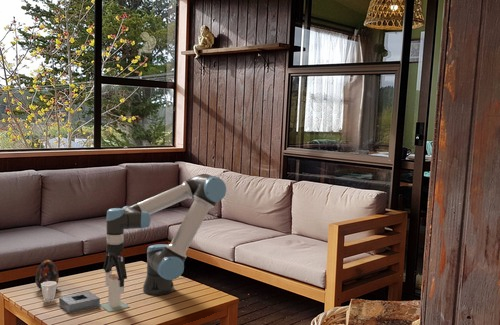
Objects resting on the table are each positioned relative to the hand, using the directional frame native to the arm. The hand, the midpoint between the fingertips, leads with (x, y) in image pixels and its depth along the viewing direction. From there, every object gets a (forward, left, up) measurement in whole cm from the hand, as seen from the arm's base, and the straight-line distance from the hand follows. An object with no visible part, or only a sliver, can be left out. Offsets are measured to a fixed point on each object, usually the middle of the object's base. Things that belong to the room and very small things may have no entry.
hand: (114, 289), depth 235 cm
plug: (0, 0, -7) cm, 7 cm away
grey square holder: (+13, -10, -8) cm, 18 cm away
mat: (0, 0, -8) cm, 8 cm away
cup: (+22, -24, -8) cm, 33 cm away
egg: (+17, -40, -8) cm, 44 cm away
